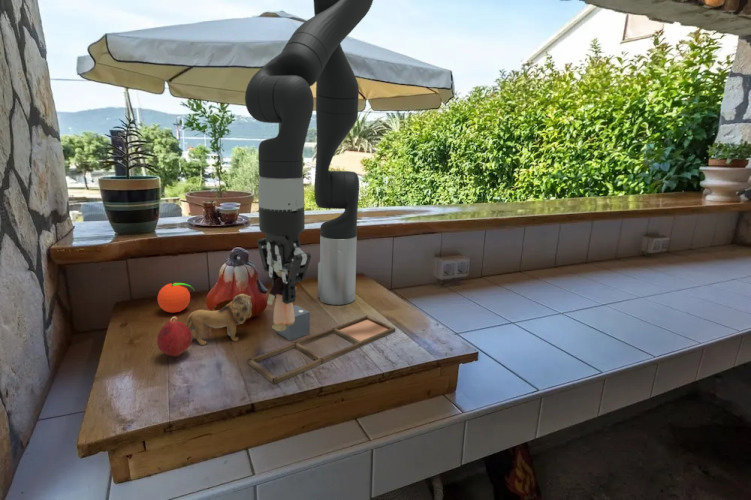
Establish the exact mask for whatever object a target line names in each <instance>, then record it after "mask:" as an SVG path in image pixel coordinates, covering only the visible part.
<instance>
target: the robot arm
mask: <svg viewBox="0 0 751 500" xmlns="http://www.w3.org/2000/svg"><path fill="white" fill-rule="evenodd" d="M373 2H374V0H313V9H314V11H313V14H314V16H313V17H311V18H309V19H307V20H306V21H304V22H303V23H302V24H301V25H299V26H298V28H296V29H295V30H294V32H293V33H292V35H291V36H290V38H289V40H288V41H287V43H286V44H285V45H284V48H283V49H282V50H281V52H280V53H279V54H277V55H276V56H275V57H273V58H272V59H271V60H270V61H268V62H267V63H266V64H265V65H264V66H262V67H261V68H260V69H259V70H258V71H256V73H254V75H253V76H252V77H251V79H250V80H249V82H248V84H247V86H246V89H245V94H244V96H245V97H244V102H245V107H246V109H247V112H248V114H249V115H250V116H251V117H252V118H253V119H254V120H256V121H258V122H260V123H266V124H280V125H281V126H280V127H279V131H278V133H277V136H275V137H272V138H268V139H264V140H262V141H261V142H259V145H258V149H257V150H258V188H257V196H258V197H257V198H258V199H257V200H258V227H259V231H260V233H262V234H264V235H265V238H260V239H257V241H256V242H257V243H256V244H257V247H258V251H259V255H260V259H261V262H262V263H261V264H262V267H263V270H264V272H268V276H269V277H270V278H271V287H272V286H273V284H274V282H275V280H276V279H277V278H278V277H279V276H278V275H277V273H276V272H275V271H274V268H273V266H274V263H275V262H276V261H278V269H279V271H281V273H282V281H283V283H282V298H283V302H284V303H285V304H288V303H295V301H296V297H297V295H296V291H297V290H296V288H297V286H296V284H297V283H299V282H300V283H301V282H304V280H305V278H306V274H307V271H308V267H309V265H310V262H311V259H312V255H311V253H310V252H304V251H303V250H302V249H301V248H302V247H301V246H302V245H301V242H300V236H301V235H300V234H302V233H303V232H304V231H305V221H306V220H305V187H304V178H303V176H304V174H303V172H304V171H303V165H304V164H303V161H304V159H303V158H304V157H303V154H304V149H305V145H306V140H307V135H308V131H309V127H310V124H311V120H312V117H313V113H314V103H315V117H316V118H315V121H316V122H315V123H316V125H315V126H316V157H315V173H314V190H313V191H314V200H315V205H316V206H317V207H318V208H321V209H329V210H331V209H332V210H333V209H335V210H338V209H339V210H344V212H343V213H341V214H340V215H339V216H337V217H335V218H332V219H330V220H327V221H324V222H322V223H321V224H320V228H319V229H320V231H319V233H320V236H319V237H320V239H319V240H320V241H319V242H320V245H319V250H320V251H319V254H320V256H319V261H318V262H317V297H319V300H320V301H321V302H322V303H323V304H327V305H335V306H340V305H341V306H342V305H347V304H350V303H353V302H354V301H355V300H356V277H357V275H356V274H357V272H356V271H357V243H358V242H357V238H358V237H357V236H358V235H357V234H358V208H359V200H360V199H359V196H360V179H359V175H358V174H357V172H355V171H351V170H349V171H347V170H346V171H345V170H329V169H330V166H331V162H332V160H333V158H334V156H335V154H336V153H337V150H338V148H339V147H340V145H341V144H342V143H343V141H344V140H345V139H346V137H347V136H348V134H349V133H350V131H351V130H352V129H353V127H354V126H355V123H356V121H357V119H358V115H359V114H358V112H359V97H360V96H359V95H360V93H359V92H360V91H359V89H360V88H359V83H358V79H357V77H356V75H355V73H354V71H353V68H352V67H351V64H350V63H349V61H348V59H347V57H346V54H345V53H344V50H343V47H342V45H341V43H342V42H343V41H344V40H345V39H346V38H347V36H349V34H350V33H351V32H352V31H353V30H354V29H355V28H356V27H357V26H358V24H359V23H360V22H362V20H363V19H364V18H365V17H366V15H367V14H368V12H370V9H371V8H372V5H373ZM313 85H316V87H315V102H314V95H313V91H312V89H311V87H312V86H313ZM287 263H292V264H290V265H286V266H285V265H284V264H287ZM288 270H290V274H289V276H288ZM274 299H276V296H275V298H274Z"/></svg>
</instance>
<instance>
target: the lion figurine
mask: <svg viewBox="0 0 751 500" xmlns="http://www.w3.org/2000/svg"><path fill="white" fill-rule="evenodd" d="M251 311H253V304H252V296H251V295H248V294H246V293H239V294H238V295H236V296H234V297H233V299H232V300H231V301H230V302H229V303H227V304H226V305H224V306H223V307H222V308H220V309H218V310H208V309H207V310H206V309H197V310H195V311H194V310H193V311H192V312H191V313H190V314H189V315H188V316H187V318H186V320H185V323H184V324H185V325H186V326H187V327H188V328H189V329H190V331H191V333H192V332H194V331H195V336H193V335H192V340H194V338H195V339H196V340H197V342H198V344H199V345H201V346H206V345H207V343H208V342H207V341H206V340H203V339H202V334H203V331H204V328H205V327H204V326H208V327H209V328H213V329H221V328H225V327H226V328H227V330H226V332H227V333H226V334H227V335H228V336H229V337H230V338H231V341H234V342H237V341H239V337H238V336H236V333H237V326H239V325H241V324H244V323H245V322H246V320H247V318H248V317H249V316H250V314H251ZM190 322H191V323H190Z"/></svg>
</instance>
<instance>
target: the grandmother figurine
mask: <svg viewBox="0 0 751 500" xmlns="http://www.w3.org/2000/svg"><path fill="white" fill-rule="evenodd" d="M290 264H292V263H287V264H284V265H285V266H286V265H290ZM273 268H274V271H275V272H276V273H277V275H278V276H279V277H278V278H277V279H276V280H275V282H274V284H273V286H272V285H271V289H270V291H269V294H268V298H267V302H266V303H267V305H269V306H271V305H273V303H274V307H273V322H272V323H273V324H272V326H271V328H272V329H273V330H275V331H276V332H277V331H283V330H285V329H286V326H290V325H292V324H294V321H295V316H294V309H293V306H294V302H292V303H288V304H285V303H284V302H283V298H282V283H283V281H282V273H281V271H279V269H278V261H276V262H275V263H274V266H273ZM289 274H290V270H288V276H289ZM297 288H298V287H296V291H297ZM275 296H276V298H275ZM274 300H275V302H274ZM285 325H286V326H285Z"/></svg>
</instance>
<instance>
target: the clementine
mask: <svg viewBox="0 0 751 500" xmlns="http://www.w3.org/2000/svg"><path fill="white" fill-rule="evenodd" d="M186 286H187V287H186ZM188 287H190V288H191V289H192V290H193V291H195V289H194V288H193V287H192V285H189V284H187V283H183V282H171V283H170V282H169V283H168V284H166V285H164V286H163V287H161V289H160V290H159V291H158V295H157V303H158V306H159V307H160V309H162V310H163V311H165V312H167V313H172V314H174V313H180V312H182V311H184V310H185V309H186V308H187V307H188V305H190V301H191V294H190V293H191V292H190V291H189V289H188Z"/></svg>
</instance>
